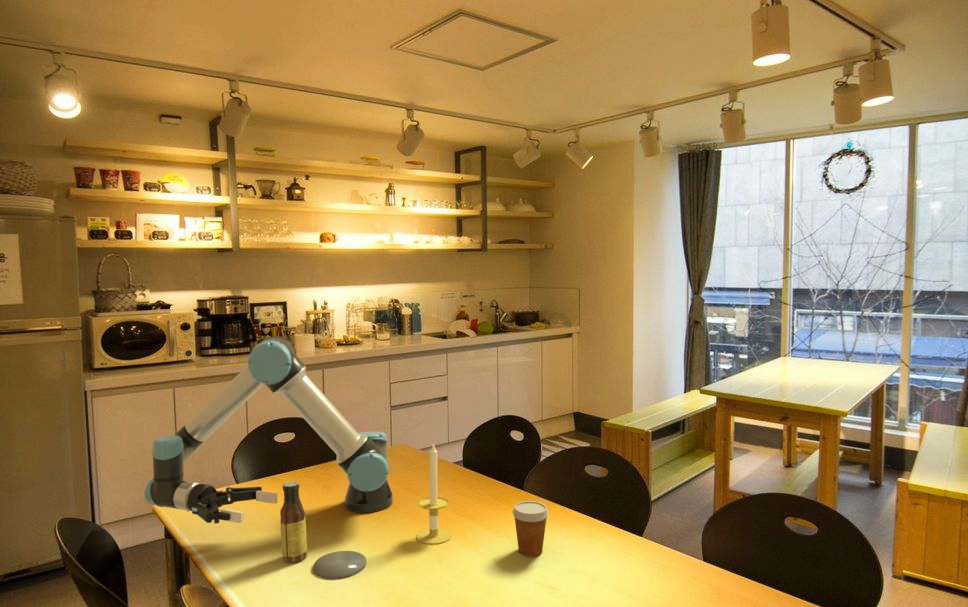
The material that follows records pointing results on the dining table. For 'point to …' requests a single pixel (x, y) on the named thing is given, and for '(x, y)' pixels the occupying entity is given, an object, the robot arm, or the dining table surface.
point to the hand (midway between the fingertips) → (260, 507)
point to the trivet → (339, 564)
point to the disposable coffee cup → (530, 526)
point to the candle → (433, 508)
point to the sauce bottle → (293, 525)
